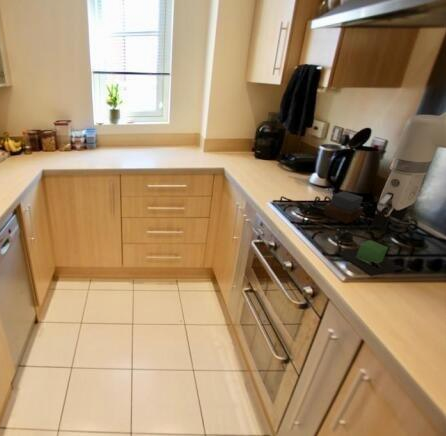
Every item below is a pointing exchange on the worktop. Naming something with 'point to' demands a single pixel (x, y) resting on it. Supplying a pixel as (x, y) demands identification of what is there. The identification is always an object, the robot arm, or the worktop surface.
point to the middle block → (346, 200)
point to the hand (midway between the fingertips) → (387, 222)
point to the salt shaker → (401, 221)
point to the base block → (342, 213)
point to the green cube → (371, 252)
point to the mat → (385, 264)
